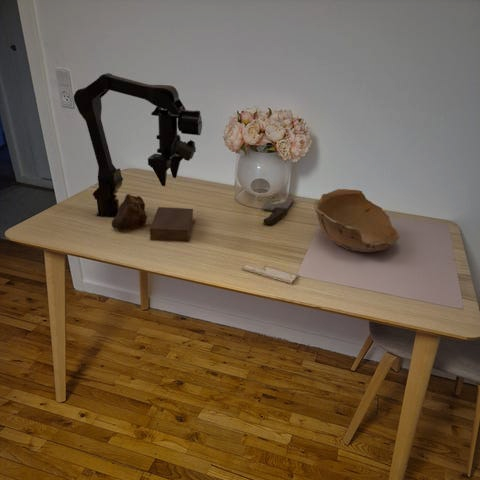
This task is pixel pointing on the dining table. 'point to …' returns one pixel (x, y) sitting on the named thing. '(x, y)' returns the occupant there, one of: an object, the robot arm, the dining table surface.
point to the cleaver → (276, 210)
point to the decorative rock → (130, 214)
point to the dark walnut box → (172, 224)
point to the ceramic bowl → (354, 221)
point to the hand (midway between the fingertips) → (169, 181)
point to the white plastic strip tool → (273, 273)
